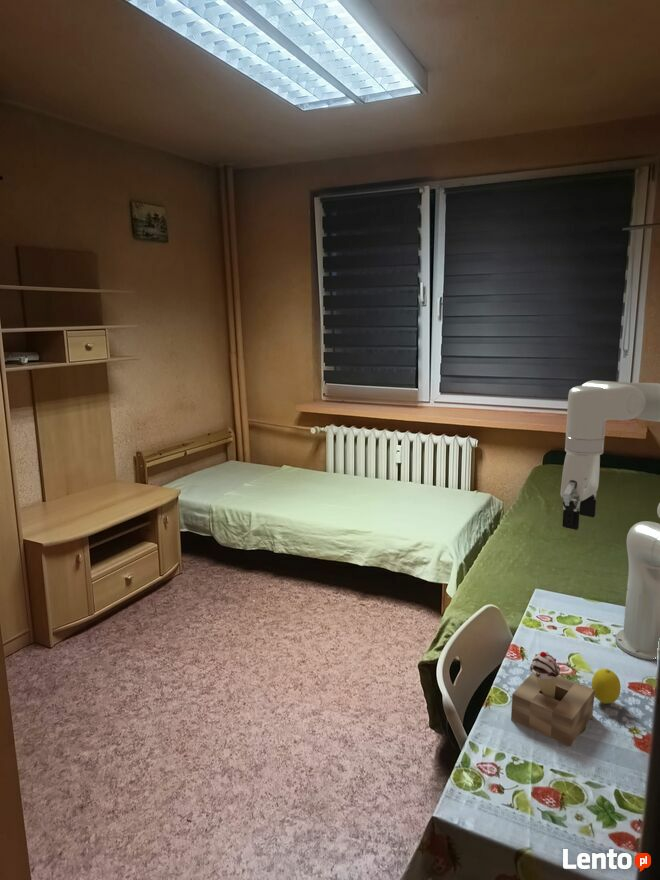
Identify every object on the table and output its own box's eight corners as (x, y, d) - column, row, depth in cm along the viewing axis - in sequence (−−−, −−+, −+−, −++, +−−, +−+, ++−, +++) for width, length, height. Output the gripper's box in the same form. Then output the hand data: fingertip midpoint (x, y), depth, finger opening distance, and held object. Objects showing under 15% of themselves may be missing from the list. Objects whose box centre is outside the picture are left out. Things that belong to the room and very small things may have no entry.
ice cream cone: (536, 725, 121) (526, 659, 118) (537, 707, 127) (528, 643, 124) (566, 727, 119) (557, 660, 116) (566, 708, 124) (557, 644, 121)
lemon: (622, 713, 124) (625, 678, 122) (593, 710, 125) (596, 675, 123) (615, 696, 129) (618, 663, 127) (587, 693, 130) (590, 660, 128)
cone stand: (535, 691, 131) (537, 667, 130) (592, 715, 123) (594, 689, 122) (511, 719, 122) (512, 693, 121) (570, 747, 114) (572, 719, 113)
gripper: (581, 435, 135) (576, 508, 139) (550, 450, 123) (545, 529, 127) (616, 440, 130) (610, 515, 134) (587, 455, 118) (581, 537, 122)
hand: (578, 521), depth 130 cm, fingers open, 9 cm apart
